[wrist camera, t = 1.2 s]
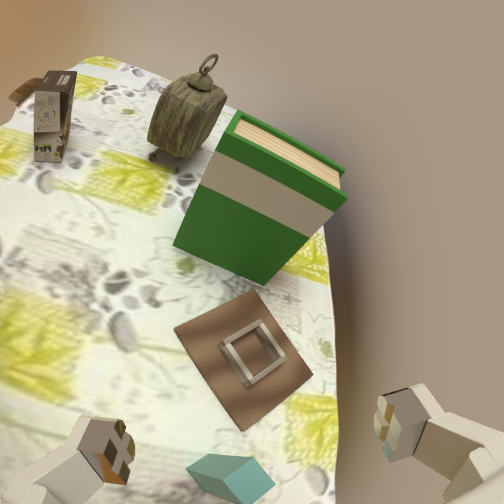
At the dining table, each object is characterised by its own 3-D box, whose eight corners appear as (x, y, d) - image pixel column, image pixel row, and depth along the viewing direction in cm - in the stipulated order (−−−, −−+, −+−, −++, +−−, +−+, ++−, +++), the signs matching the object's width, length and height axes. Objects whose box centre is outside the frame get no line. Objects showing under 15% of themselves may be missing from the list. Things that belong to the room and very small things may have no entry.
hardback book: (269, 255, 61) (344, 168, 43) (263, 285, 56) (347, 198, 39) (186, 216, 57) (237, 109, 40) (172, 245, 52) (224, 131, 35)
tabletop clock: (172, 132, 69) (210, 41, 51) (204, 149, 71) (248, 59, 53) (139, 160, 60) (174, 52, 42) (175, 180, 61) (221, 73, 43)
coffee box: (62, 163, 50) (67, 92, 39) (33, 161, 47) (33, 91, 35) (70, 135, 55) (78, 70, 43) (44, 134, 52) (48, 68, 40)
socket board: (173, 329, 44) (179, 321, 41) (251, 291, 54) (260, 281, 51) (241, 431, 39) (251, 430, 37) (310, 375, 49) (322, 370, 47)
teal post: (185, 468, 33) (222, 480, 23) (208, 453, 35) (253, 457, 25) (203, 489, 32) (246, 507, 22) (225, 474, 34) (275, 484, 24)
